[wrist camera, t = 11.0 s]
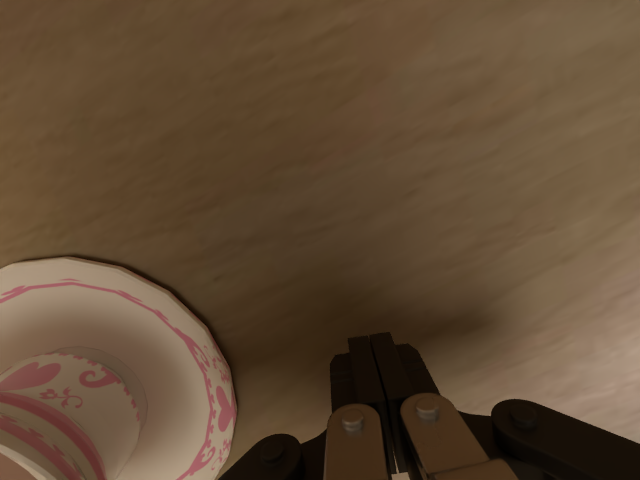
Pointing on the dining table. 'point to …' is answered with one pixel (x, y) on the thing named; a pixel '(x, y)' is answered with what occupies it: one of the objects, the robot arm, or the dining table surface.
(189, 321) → the teacup
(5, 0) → the dining table surface
